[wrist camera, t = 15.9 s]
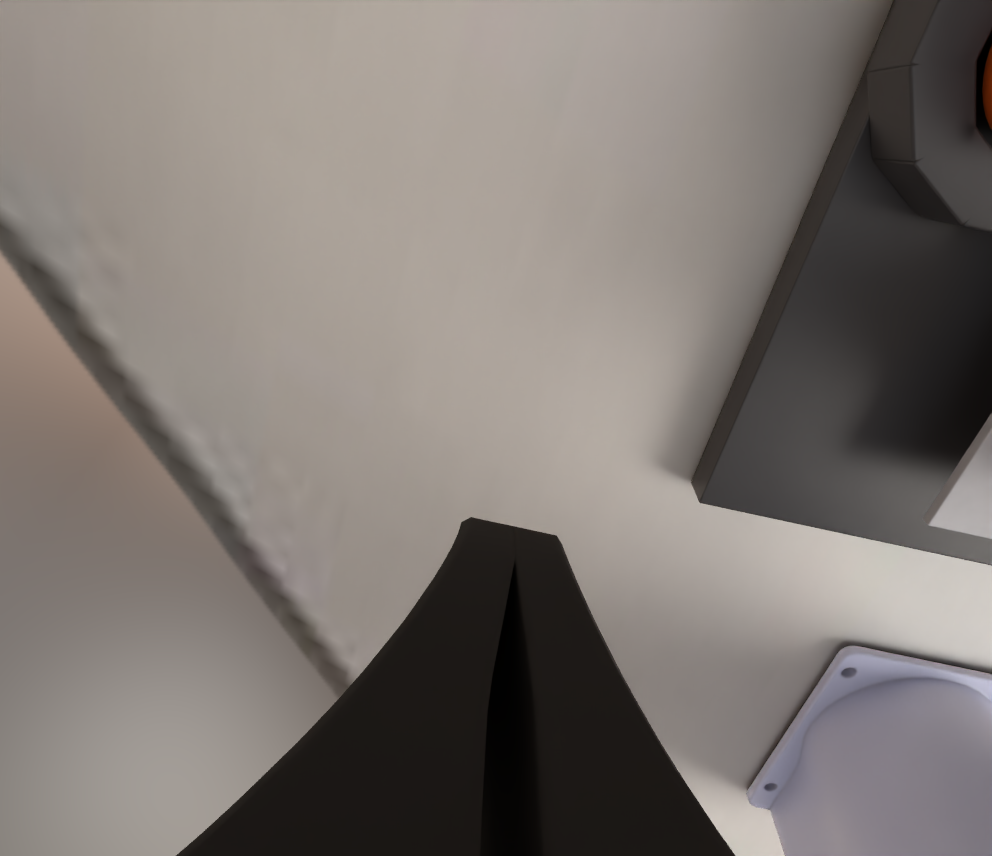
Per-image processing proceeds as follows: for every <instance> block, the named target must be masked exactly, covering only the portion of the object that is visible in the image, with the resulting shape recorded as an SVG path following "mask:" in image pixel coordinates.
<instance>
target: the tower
mask: <svg viewBox="0 0 992 856" xmlns="http://www.w3.org/2000/svg"><path fill="white" fill-rule="evenodd" d="M923 520H924V522H925V523H926V524H927V525H929V526H934V527H939V528H943V529H948V530H953V531H957V532H962V533H967V534H971V535H976V536H980V537H985V538H990V539H992V413H991V414H990V416H989V417H988V419H987V421H986V422H985V424H984V425H983V427H982V428H981V430H980V431H979V433H978V434H977V436H976V437H975V439H974V440H973V442H972V443H971V445H970V447H969V448H968V450H967V451H966V453H965V454H964V456H963V457H962V459H961V460H960V462H959V463H958V465H957V466H956V468H955V470H954V471H953V473H952V474H951V476H950V477H949V479H948V480H947V482H946V483H945V485H944V486H943V488H942V489H941V491H940V492H939V494H938V496H937V497H936V499H935V500H934V502H933V503H932V505H931V506H930V508H929V509H928V511H927V512H926V514H925V515H924V517H923Z"/></svg>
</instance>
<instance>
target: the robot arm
mask: <svg viewBox="0 0 992 856" xmlns="http://www.w3.org/2000/svg"><path fill="white" fill-rule="evenodd" d="M747 797H748V800H749V803H750V804H751V805H752V806H755V807H758V808H763V809H768V810H770V811H771V814H772V817H773V820H774V823H775V826H776V830H777V833H778V836H779V839H780V842H781V845H782V848H783V851H784V854H785V856H992V674H989V673H984V672H979V671H975V670H970V669H965V668H960V667H955V666H951V665H946V664H941V663H936V662H932V661H927V660H922V659H917V658H912V657H908V656H903V655H898V654H893V653H888V652H884V651H879V650H874V649H869V648H864V647H860V646H847V647H845V648H843V649H841V650H840V651H839V652H838V653H837V655H836V657H835V658H834V660H833V661H832V663H831V664H830V666H829V667H828V669H827V670H826V672H825V673H824V675H823V676H822V678H821V679H820V681H819V682H818V684H817V685H816V687H815V689H814V690H813V692H812V693H811V695H810V696H809V698H808V699H807V701H806V702H805V704H804V705H803V707H802V708H801V710H800V711H799V713H798V714H797V716H796V717H795V719H794V721H793V722H792V724H791V725H790V727H789V728H788V730H787V731H786V733H785V734H784V736H783V737H782V739H781V740H780V742H779V743H778V745H777V746H776V748H775V749H774V751H773V752H772V754H771V756H770V757H769V759H768V760H767V762H766V763H765V765H764V766H763V768H762V769H761V771H760V772H759V774H758V775H757V777H756V778H755V780H754V781H753V783H752V784H751V786H750V788H749V789H748V791H747ZM176 856H735V855H734V853H733V852H732V850H731V849H730V847H729V846H728V845H727V843H726V842H725V840H724V839H723V838H722V836H721V835H720V833H719V832H718V831H717V829H716V828H715V826H714V825H713V823H712V822H711V820H710V819H709V817H708V816H707V814H706V813H705V811H704V810H703V808H702V807H701V805H700V804H699V802H698V801H697V799H696V798H695V796H694V795H693V793H692V792H691V790H690V789H689V787H688V786H687V784H686V783H685V781H684V779H683V778H682V776H681V775H680V773H679V772H678V770H677V768H676V767H675V765H674V764H673V762H672V760H671V759H670V757H669V756H668V754H667V752H666V751H665V749H664V747H663V746H662V744H661V742H660V741H659V739H658V737H657V736H656V734H655V732H654V731H653V729H652V727H651V725H650V724H649V722H648V720H647V718H646V717H645V715H644V713H643V712H642V710H641V708H640V706H639V705H638V703H637V701H636V699H635V698H634V696H633V694H632V692H631V690H630V688H629V687H628V685H627V683H626V681H625V679H624V677H623V676H622V674H621V672H620V670H619V668H618V666H617V664H616V662H615V660H614V658H613V656H612V654H611V652H610V650H609V648H608V646H607V644H606V642H605V640H604V638H603V636H602V634H601V633H600V631H599V629H598V626H597V624H596V622H595V620H594V618H593V616H592V614H591V612H590V610H589V607H588V605H587V603H586V601H585V598H584V596H583V594H582V592H581V590H580V587H579V585H578V583H577V580H576V578H575V576H574V573H573V571H572V568H571V566H570V564H569V561H568V559H567V556H566V554H565V551H564V548H563V546H562V544H561V542H560V540H559V539H558V537H557V536H556V535H551V534H546V533H542V532H537V531H532V530H528V529H523V528H518V527H514V526H509V525H505V524H500V523H495V522H491V521H486V520H481V519H477V518H472V517H471V518H469V519H467V520H465V521H463V522H461V526H460V529H459V532H458V535H457V537H456V539H455V542H454V544H453V546H452V548H451V550H450V552H449V553H448V555H447V557H446V559H445V560H444V562H443V564H442V565H441V567H440V569H439V570H438V572H437V574H436V575H435V577H434V579H433V580H432V581H431V583H430V584H429V586H428V587H427V589H426V590H425V592H424V593H423V594H422V596H421V597H420V599H419V600H418V602H417V603H416V605H415V606H414V607H413V609H412V610H411V612H410V613H409V615H408V616H407V617H406V619H405V620H404V621H403V623H402V624H401V625H400V626H399V628H398V629H397V630H396V631H395V633H394V634H393V635H392V636H391V638H390V639H389V640H388V641H387V643H386V644H385V645H384V646H383V647H382V649H381V650H380V651H379V652H378V654H377V655H376V656H375V657H374V659H373V660H372V661H371V662H370V664H369V665H368V666H367V667H366V668H365V670H364V671H363V672H362V673H361V674H360V675H359V677H358V678H357V679H356V680H355V681H354V682H353V683H352V685H351V686H350V687H349V688H348V689H347V690H346V691H345V692H344V694H343V695H342V696H341V697H340V698H339V699H338V700H337V701H336V702H335V703H334V705H333V706H332V707H331V708H330V709H329V710H328V711H327V712H326V713H325V714H324V715H323V716H322V717H321V718H320V720H318V722H317V723H316V724H315V725H314V726H313V727H312V728H311V729H310V730H309V731H308V732H307V733H306V734H305V735H304V736H303V737H302V738H301V739H300V740H299V741H298V743H296V744H295V745H294V746H293V747H292V748H291V749H290V750H289V751H288V752H287V753H286V754H285V755H284V756H283V757H282V758H281V759H280V760H279V761H278V762H277V763H276V764H275V765H274V766H273V767H272V768H271V769H270V770H269V771H268V772H267V773H266V774H265V775H264V776H263V777H262V778H261V779H259V780H258V782H256V783H255V784H254V785H253V786H252V787H251V788H250V789H249V790H248V791H247V792H246V793H245V794H244V795H243V796H242V797H241V798H240V799H239V800H238V801H237V802H236V803H234V804H233V805H232V806H231V807H230V808H229V809H228V810H227V811H226V812H225V813H224V814H223V815H221V816H220V817H219V818H218V819H217V820H216V821H215V822H214V823H213V824H212V825H211V826H209V827H208V828H207V829H206V830H205V831H204V832H203V833H202V834H201V835H199V836H198V837H197V838H196V839H195V840H194V841H193V842H191V843H190V844H189V845H188V846H187V847H186V848H185V849H183V850H182V851H181V852H180V853H179V854H177V855H176Z"/></svg>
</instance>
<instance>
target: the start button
mask: <svg viewBox="0 0 992 856" xmlns="http://www.w3.org/2000/svg"><path fill="white" fill-rule="evenodd" d="M982 95H983V106H984V111H985V116H986V118H987V121H988V124H989V126H990V128H991V130H992V44H991V47H990V50H989V53H988V56H987V60H986V64H985V69H984V74H983V86H982Z"/></svg>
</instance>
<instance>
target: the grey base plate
mask: <svg viewBox="0 0 992 856" xmlns="http://www.w3.org/2000/svg"><path fill="white" fill-rule="evenodd" d="M991 44H992V0H894V2H893V4H892V7H891V9H890V11H889V14H888V16H887V19H886V21H885V23H884V26H883V28H882V30H881V33H880V35H879V38H878V40H877V42H876V45H875V47H874V49H873V52H872V54H871V57H870V59H869V61H868V64H867V66H866V68H865V71H864V73H863V76H862V78H861V80H860V83H859V85H858V87H857V90H856V92H855V95H854V97H853V99H852V102H851V104H850V106H849V109H848V111H847V114H846V116H845V118H844V121H843V123H842V125H841V128H840V130H839V133H838V135H837V137H836V140H835V142H834V144H833V147H832V149H831V152H830V154H829V156H828V159H827V161H826V164H825V166H824V168H823V171H822V173H821V175H820V178H819V180H818V183H817V185H816V187H815V190H814V192H813V194H812V197H811V199H810V202H809V204H808V206H807V209H806V211H805V213H804V216H803V218H802V221H801V223H800V225H799V228H798V230H797V232H796V235H795V237H794V240H793V242H792V244H791V247H790V249H789V251H788V254H787V256H786V259H785V261H784V263H783V266H782V268H781V270H780V273H779V275H778V278H777V280H776V282H775V285H774V287H773V289H772V292H771V294H770V297H769V299H768V301H767V304H766V306H765V308H764V311H763V313H762V316H761V318H760V320H759V323H758V325H757V328H756V330H755V332H754V335H753V337H752V339H751V342H750V344H749V347H748V349H747V351H746V354H745V356H744V358H743V361H742V363H741V366H740V368H739V370H738V373H737V375H736V377H735V380H734V382H733V385H732V387H731V389H730V392H729V394H728V396H727V399H726V401H725V404H724V406H723V408H722V411H721V413H720V415H719V418H718V420H717V423H716V425H715V427H714V430H713V432H712V434H711V437H710V439H709V442H708V444H707V446H706V449H705V451H704V453H703V456H702V458H701V461H700V463H699V465H698V468H697V470H696V472H695V475H694V477H693V480H692V482H691V483H692V486H693V488H694V490H695V493H696V495H697V498H698V500H699V502H700V503H703V504H708V505H713V506H717V507H722V508H727V509H731V510H736V511H741V512H745V513H750V514H755V515H759V516H764V517H769V518H773V519H778V520H783V521H787V522H792V523H797V524H801V525H806V526H811V527H815V528H820V529H825V530H829V531H834V532H839V533H843V534H848V535H853V536H857V537H862V538H867V539H871V540H876V541H881V542H885V543H890V544H895V545H899V546H904V547H909V548H913V549H918V550H923V551H927V552H932V553H937V554H941V555H946V556H951V557H955V558H960V559H965V560H969V561H974V562H979V563H983V564H988V565H992V539H990V538H985V537H980V536H976V535H971V534H967V533H962V532H957V531H953V530H948V529H943V528H939V527H934V526H929V525H927V524H926V523H925V522H924V520H923V517H924V515H925V514H926V512H927V511H928V509H929V508H930V506H931V505H932V503H933V502H934V500H935V499H936V497H937V496H938V494H939V492H940V491H941V489H942V488H943V486H944V485H945V483H946V482H947V480H948V479H949V477H950V476H951V474H952V473H953V471H954V470H955V468H956V466H957V465H958V463H959V462H960V460H961V459H962V457H963V456H964V454H965V453H966V451H967V450H968V448H969V447H970V445H971V443H972V442H973V440H974V439H975V437H976V436H977V434H978V433H979V431H980V430H981V428H982V427H983V425H984V424H985V422H986V421H987V419H988V417H989V416H990V414H991V413H992V130H991V128H990V126H989V124H988V121H987V118H986V116H985V111H984V106H983V95H982V86H983V74H984V69H985V64H986V60H987V56H988V53H989V50H990V47H991Z"/></svg>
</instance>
